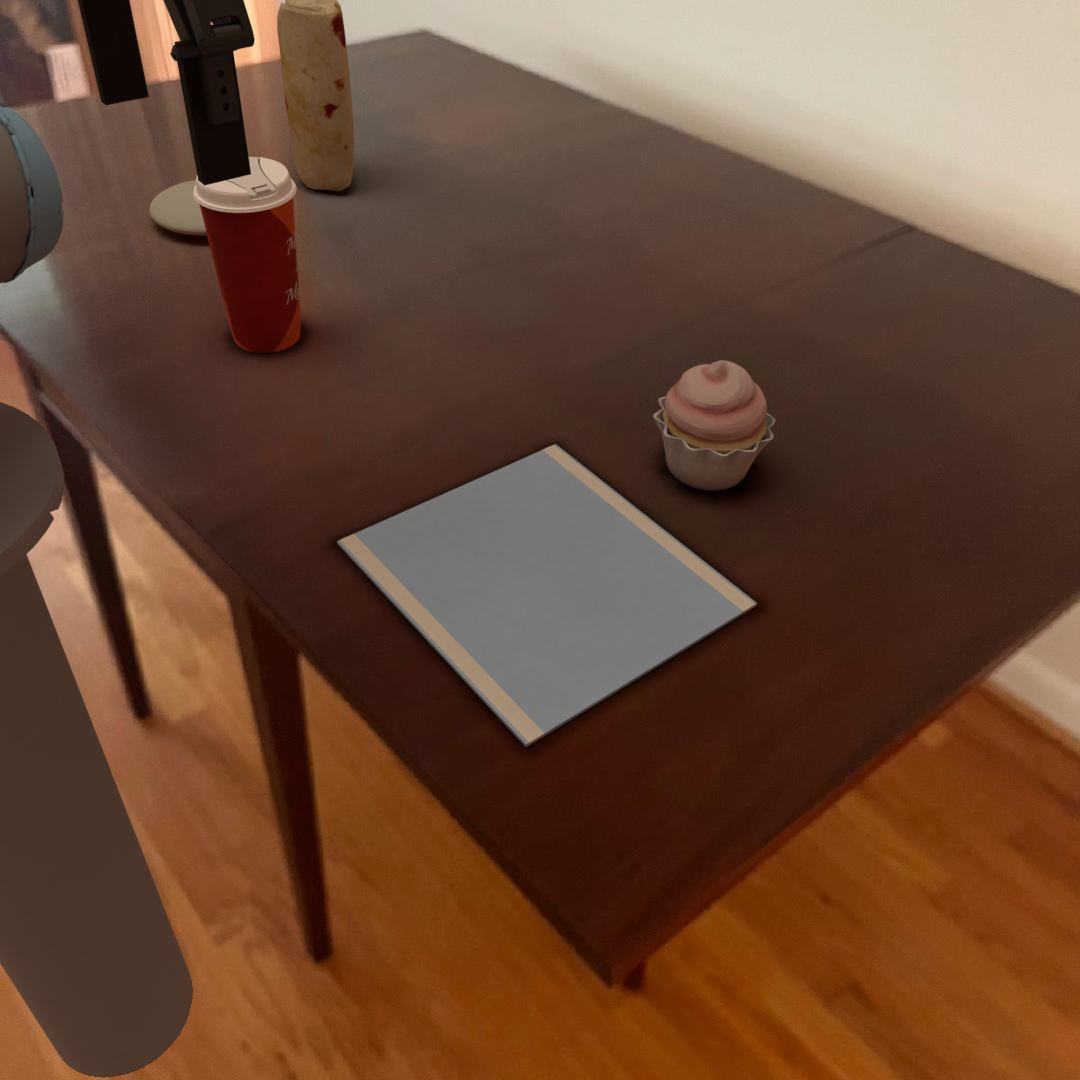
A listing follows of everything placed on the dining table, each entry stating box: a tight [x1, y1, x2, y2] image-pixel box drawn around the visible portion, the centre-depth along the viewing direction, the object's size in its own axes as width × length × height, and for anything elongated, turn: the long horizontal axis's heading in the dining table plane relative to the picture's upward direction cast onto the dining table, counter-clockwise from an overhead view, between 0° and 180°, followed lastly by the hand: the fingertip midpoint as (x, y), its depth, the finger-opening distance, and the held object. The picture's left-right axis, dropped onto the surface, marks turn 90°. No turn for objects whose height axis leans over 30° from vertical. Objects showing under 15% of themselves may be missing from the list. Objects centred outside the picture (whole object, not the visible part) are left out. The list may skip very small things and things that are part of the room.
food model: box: [276, 0, 355, 192], centre depth 113 cm, size 10×7×20 cm
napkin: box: [336, 443, 758, 748], centre depth 73 cm, size 22×20×1 cm
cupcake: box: [652, 360, 776, 492], centre depth 80 cm, size 9×9×10 cm
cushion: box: [148, 179, 207, 237], centre depth 110 cm, size 12×12×3 cm
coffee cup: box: [193, 156, 301, 354], centre depth 90 cm, size 8×8×15 cm
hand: (172, 136), depth 60 cm, fingers open, 13 cm apart
